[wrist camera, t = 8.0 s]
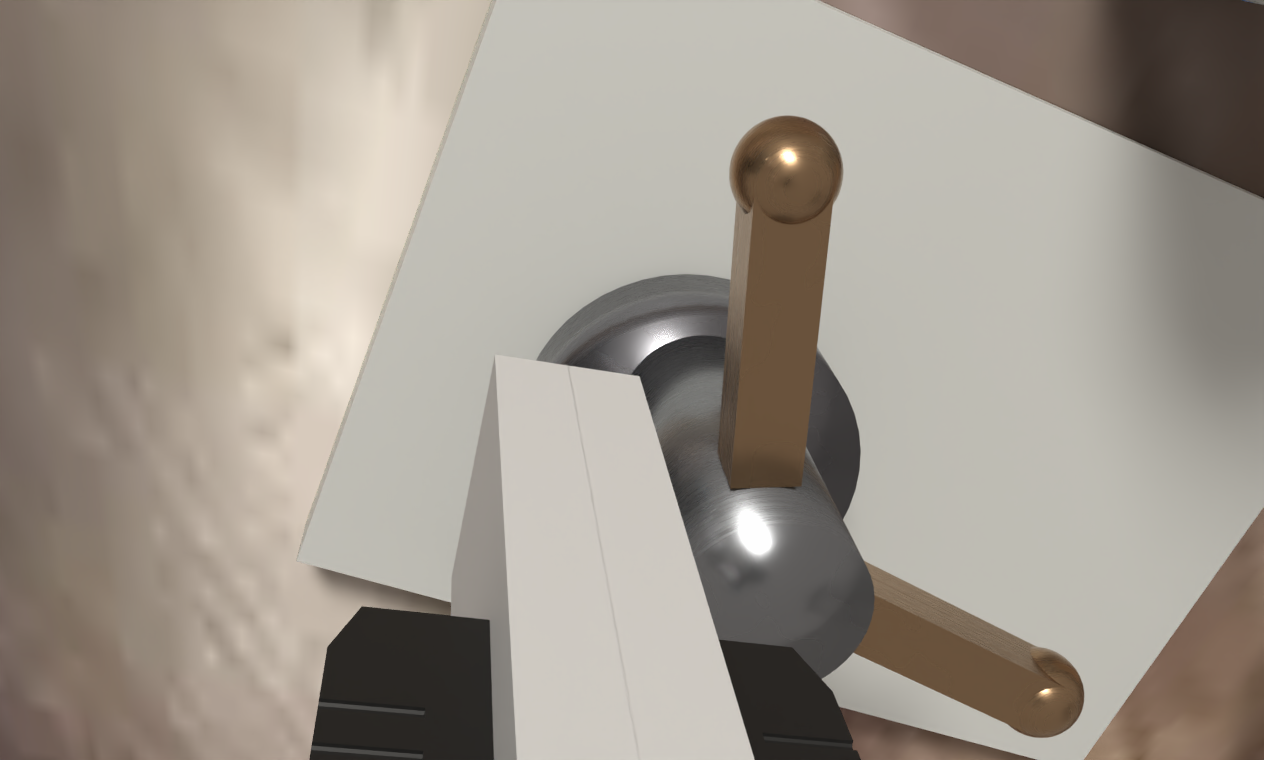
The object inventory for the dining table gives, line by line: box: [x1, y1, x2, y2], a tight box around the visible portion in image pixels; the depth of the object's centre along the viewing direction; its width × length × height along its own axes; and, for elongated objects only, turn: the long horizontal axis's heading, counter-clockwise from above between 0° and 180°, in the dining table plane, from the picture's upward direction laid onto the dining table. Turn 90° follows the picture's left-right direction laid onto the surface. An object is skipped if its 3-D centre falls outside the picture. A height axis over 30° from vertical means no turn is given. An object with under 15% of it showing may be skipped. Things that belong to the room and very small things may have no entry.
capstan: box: [536, 115, 1084, 738], centre depth 27 cm, size 16×16×12 cm
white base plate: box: [297, 0, 1264, 760], centre depth 32 cm, size 28×20×10 cm
